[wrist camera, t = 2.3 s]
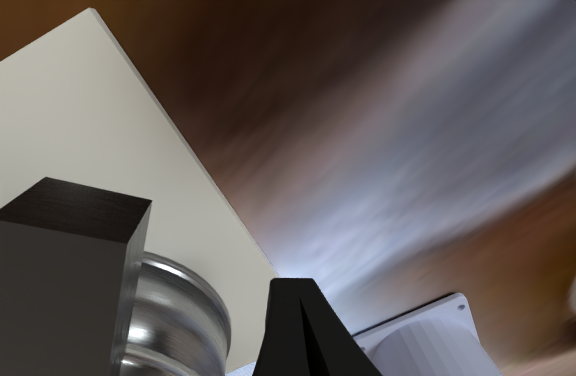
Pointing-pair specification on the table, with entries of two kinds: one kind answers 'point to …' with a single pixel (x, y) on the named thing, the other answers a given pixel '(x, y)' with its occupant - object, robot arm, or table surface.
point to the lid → (73, 283)
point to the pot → (180, 316)
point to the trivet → (127, 162)
